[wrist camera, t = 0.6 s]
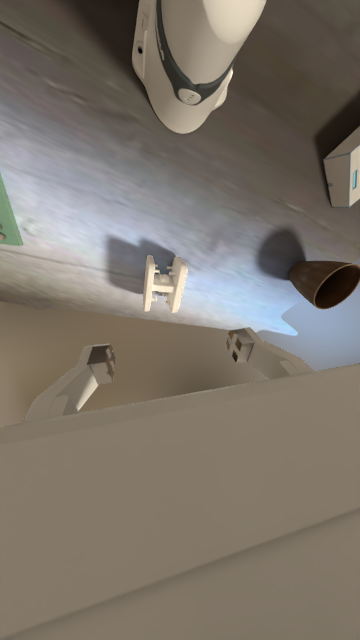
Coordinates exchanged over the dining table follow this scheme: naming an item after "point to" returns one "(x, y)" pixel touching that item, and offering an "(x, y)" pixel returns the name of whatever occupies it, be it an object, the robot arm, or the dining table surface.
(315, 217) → the dining table surface
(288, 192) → the dining table surface
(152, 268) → the cable organizer
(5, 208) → the board
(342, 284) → the plant pot
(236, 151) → the dining table surface
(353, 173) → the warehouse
